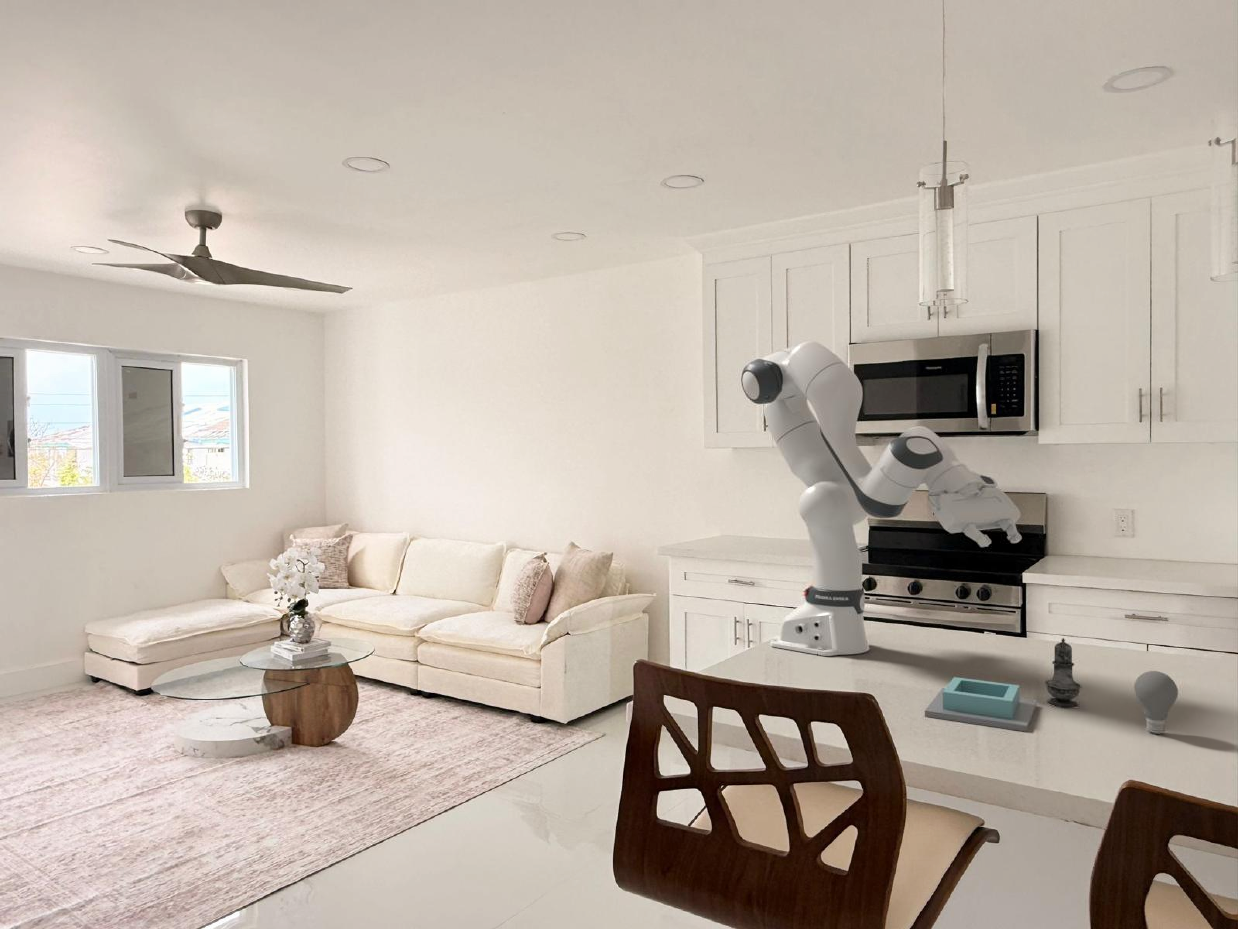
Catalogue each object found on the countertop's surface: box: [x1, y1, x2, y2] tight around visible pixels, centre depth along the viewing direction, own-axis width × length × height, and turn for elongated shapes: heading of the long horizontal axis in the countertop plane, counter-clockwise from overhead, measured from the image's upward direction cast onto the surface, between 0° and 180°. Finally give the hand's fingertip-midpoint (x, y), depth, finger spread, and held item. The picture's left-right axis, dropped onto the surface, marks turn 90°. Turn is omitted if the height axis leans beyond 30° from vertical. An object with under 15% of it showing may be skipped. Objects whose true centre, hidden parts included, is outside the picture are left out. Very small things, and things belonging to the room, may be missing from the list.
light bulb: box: [1133, 670, 1179, 735], centre depth 138 cm, size 6×6×10 cm
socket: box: [924, 676, 1037, 733], centre depth 150 cm, size 16×16×4 cm
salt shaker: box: [1044, 637, 1082, 709], centre depth 154 cm, size 6×6×12 cm
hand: (1002, 542), depth 163 cm, fingers open, 8 cm apart
